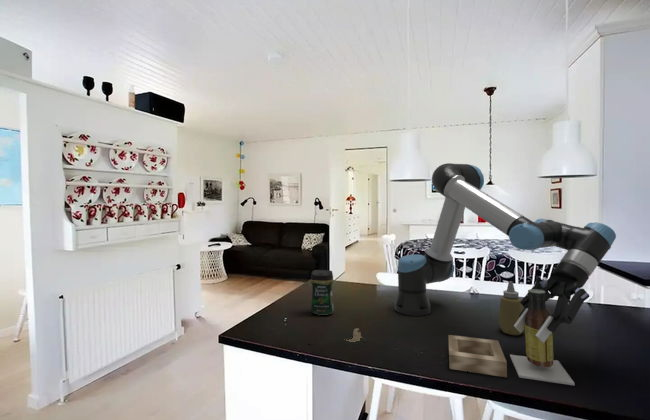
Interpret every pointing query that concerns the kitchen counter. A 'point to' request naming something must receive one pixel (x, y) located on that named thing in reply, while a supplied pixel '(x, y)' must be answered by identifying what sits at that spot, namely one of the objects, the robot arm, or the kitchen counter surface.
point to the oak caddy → (477, 356)
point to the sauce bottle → (534, 320)
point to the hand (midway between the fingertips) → (528, 333)
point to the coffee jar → (322, 292)
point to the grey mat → (541, 371)
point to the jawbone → (355, 336)
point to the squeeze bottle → (510, 310)
